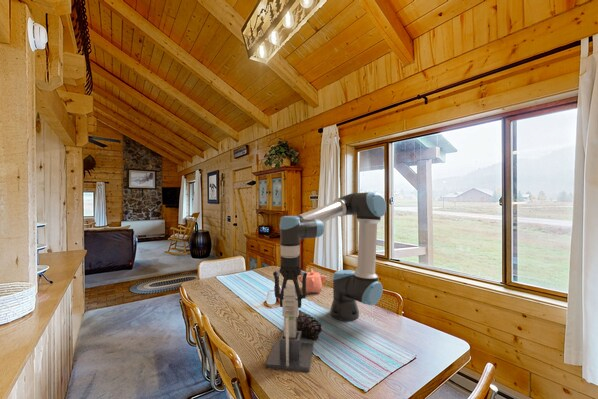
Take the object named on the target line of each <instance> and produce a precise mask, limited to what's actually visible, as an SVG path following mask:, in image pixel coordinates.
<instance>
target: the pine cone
mask: <svg viewBox="0 0 598 399" xmlns="http://www.w3.org/2000/svg"><path fill="white" fill-rule="evenodd" d="M322 327H323V325H322V323H320V321H319V320H318V319H316V318H315V317H314V316H312V315H310V314H309V313H306V312H305V311H302V310H301V309H299V315H298V317H297V331H302V339H306V340H307V341H309V340H310V341H313V342H319V339H320V337H319V335H320V333H322V331H323V328H322Z"/></svg>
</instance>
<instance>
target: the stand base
mask: <svg viewBox="0 0 598 399" xmlns="http://www.w3.org/2000/svg"><path fill="white" fill-rule="evenodd" d="M289 321H290V318H289V316H286V339H284V329H283V330H282V332H281V335H280V338H279V340H275V341H274V343H273V347H272V348H271V351H270V353H269V355H268V358H267V361H266V362H265V369H271V370H283V371H293V372H295V371H296V372H310V370H311V364H312V357H313V351H314V343H310V342H303V340H302V339H303V338H302V331H297V339H289Z"/></svg>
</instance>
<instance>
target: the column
mask: <svg viewBox="0 0 598 399" xmlns="http://www.w3.org/2000/svg"><path fill="white" fill-rule="evenodd" d="M296 298H297V294H296V288H295V286H294V284H286V287H285V288H284V316H283V330H284V339H286V316H289V318H290V321H289V339H297V317H296Z"/></svg>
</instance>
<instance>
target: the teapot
mask: <svg viewBox="0 0 598 399" xmlns="http://www.w3.org/2000/svg"><path fill="white" fill-rule="evenodd" d="M307 272H308V273H307V276H306V295H308V294H310V293H315V294H316V295H319V294H320V293H321V291H322V288H323V284H324V283H325V282H326V280H327V279H328V278H327V277H328V276H327V275H323V274H322V275H321V274H320V272H316V271H314V269H313V268H311V269H310V272H309V271H307ZM297 278H298V282H300V283H301V284H302V278H303V277H302V276H301V274H299V276H298V277H297ZM322 278H323V279H322Z"/></svg>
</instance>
